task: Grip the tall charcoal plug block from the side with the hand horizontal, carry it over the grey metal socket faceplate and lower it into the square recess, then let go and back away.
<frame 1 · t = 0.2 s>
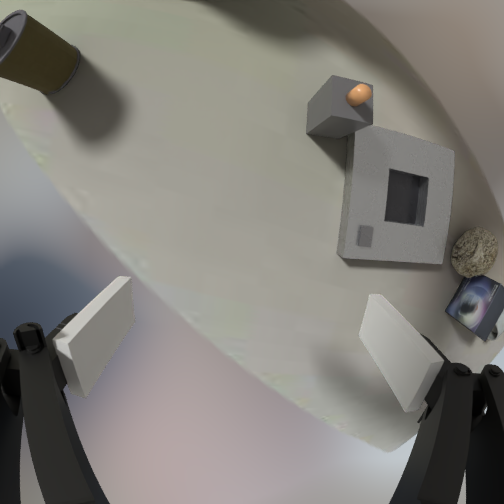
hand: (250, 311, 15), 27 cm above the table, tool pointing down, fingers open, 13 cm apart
small box: (462, 294, 46), on the table
stone: (458, 246, 43), on the table
ceramic mug: (486, 308, 48), on the table
canister: (57, 69, 33), on the table
socket: (398, 197, 41), on the table
plug: (323, 120, 38), on the table
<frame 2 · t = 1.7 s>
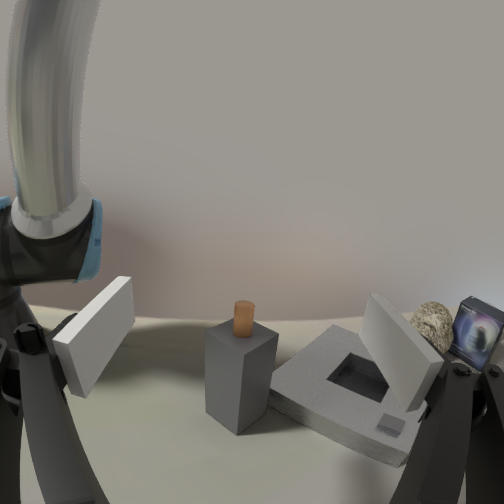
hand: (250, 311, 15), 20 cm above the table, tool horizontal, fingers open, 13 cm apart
small box: (466, 356, 39), on the table
stone: (421, 353, 42), on the table
socket: (357, 391, 34), on the table
plug: (235, 413, 29), on the table
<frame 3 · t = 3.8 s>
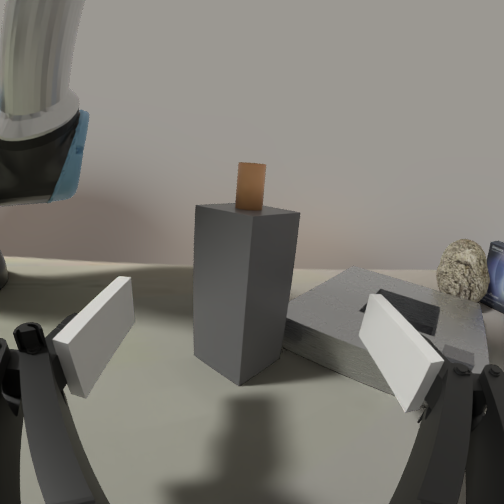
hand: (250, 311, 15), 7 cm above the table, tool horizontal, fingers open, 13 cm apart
small box: (500, 308, 32), on the table
stone: (454, 303, 35), on the table
socket: (396, 334, 26), on the table
plug: (237, 357, 22), on the table
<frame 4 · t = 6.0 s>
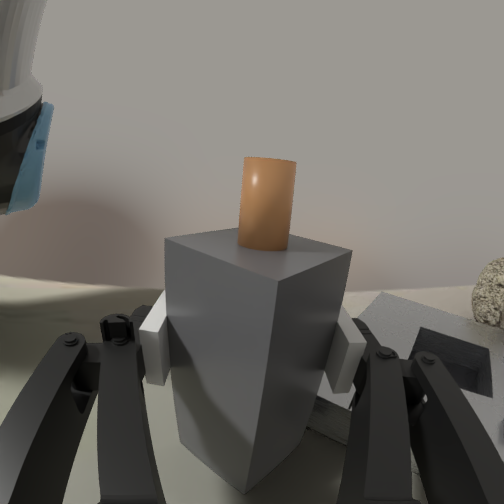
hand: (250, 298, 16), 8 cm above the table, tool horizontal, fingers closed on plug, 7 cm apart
stone: (490, 331, 26), on the table
socket: (440, 386, 18), on the table
plug: (240, 445, 13), on the table, touching gripper
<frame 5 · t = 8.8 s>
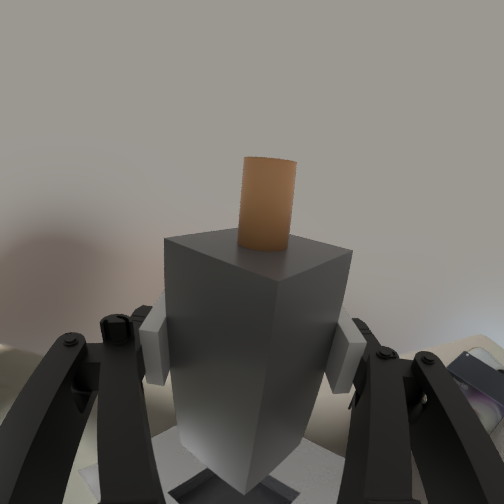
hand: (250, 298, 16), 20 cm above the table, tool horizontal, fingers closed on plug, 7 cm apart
small box: (446, 436, 23), on the table
ceramic mug: (463, 395, 30), on the table
plug: (240, 446, 13), point 13 cm above the table, touching gripper
when the fingers open (9 cm above the table, at t = 11.8 s): plug drops 1 cm, resting on socket.
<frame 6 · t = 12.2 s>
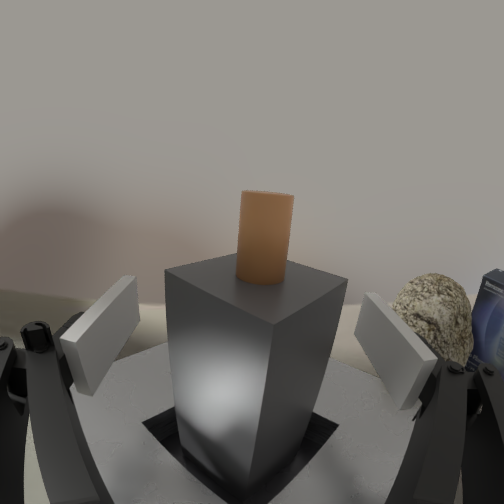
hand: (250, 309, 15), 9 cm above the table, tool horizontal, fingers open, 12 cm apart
small box: (489, 374, 20), on the table
stone: (411, 374, 22), on the table
socket: (239, 457, 14), on the table
plug: (240, 456, 14), resting on socket
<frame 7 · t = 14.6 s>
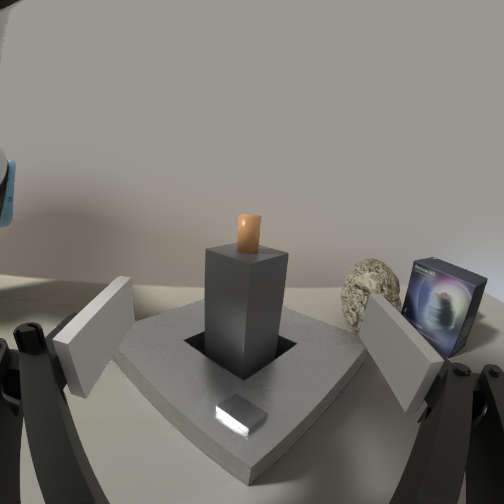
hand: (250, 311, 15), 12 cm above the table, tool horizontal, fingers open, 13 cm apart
small box: (430, 338, 33), on the table
stone: (361, 331, 36), on the table
socket: (239, 366, 27), on the table
plug: (239, 364, 27), resting on socket
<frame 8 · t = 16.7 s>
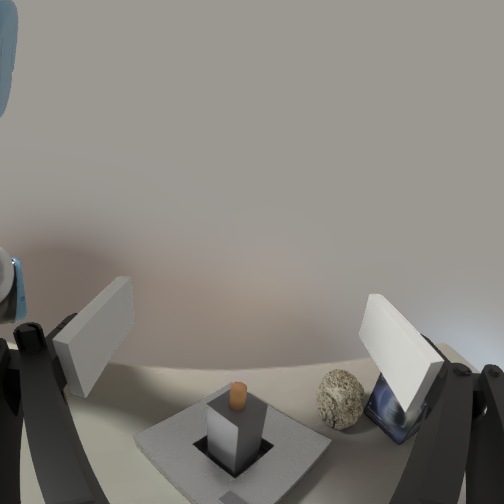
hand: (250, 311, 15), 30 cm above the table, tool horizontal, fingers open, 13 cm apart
small box: (390, 422, 38), on the table
stone: (331, 418, 40), on the table
socket: (232, 456, 32), on the table
plug: (233, 455, 32), resting on socket
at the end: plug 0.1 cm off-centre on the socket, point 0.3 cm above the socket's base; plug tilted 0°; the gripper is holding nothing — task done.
